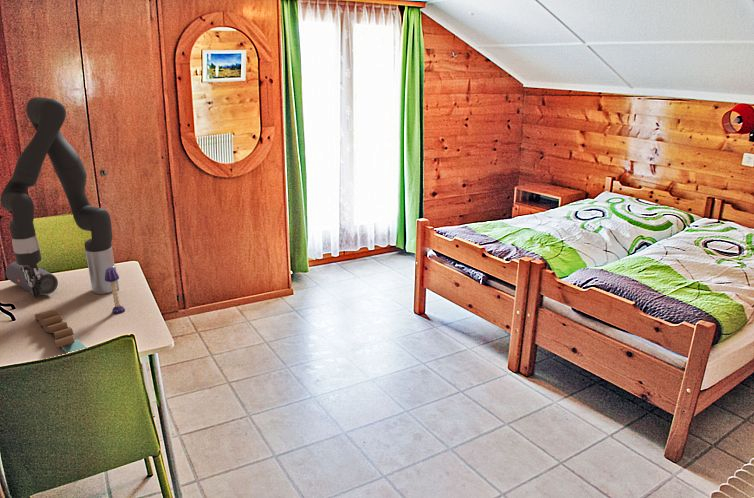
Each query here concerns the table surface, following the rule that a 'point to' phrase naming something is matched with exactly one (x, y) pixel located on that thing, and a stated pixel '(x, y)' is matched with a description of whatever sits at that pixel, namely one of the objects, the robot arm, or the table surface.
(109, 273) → the toy lamp
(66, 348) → the domino
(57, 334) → the domino
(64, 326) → the domino
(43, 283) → the bluetooth speaker
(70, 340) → the domino
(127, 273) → the table surface
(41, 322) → the domino
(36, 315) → the domino
